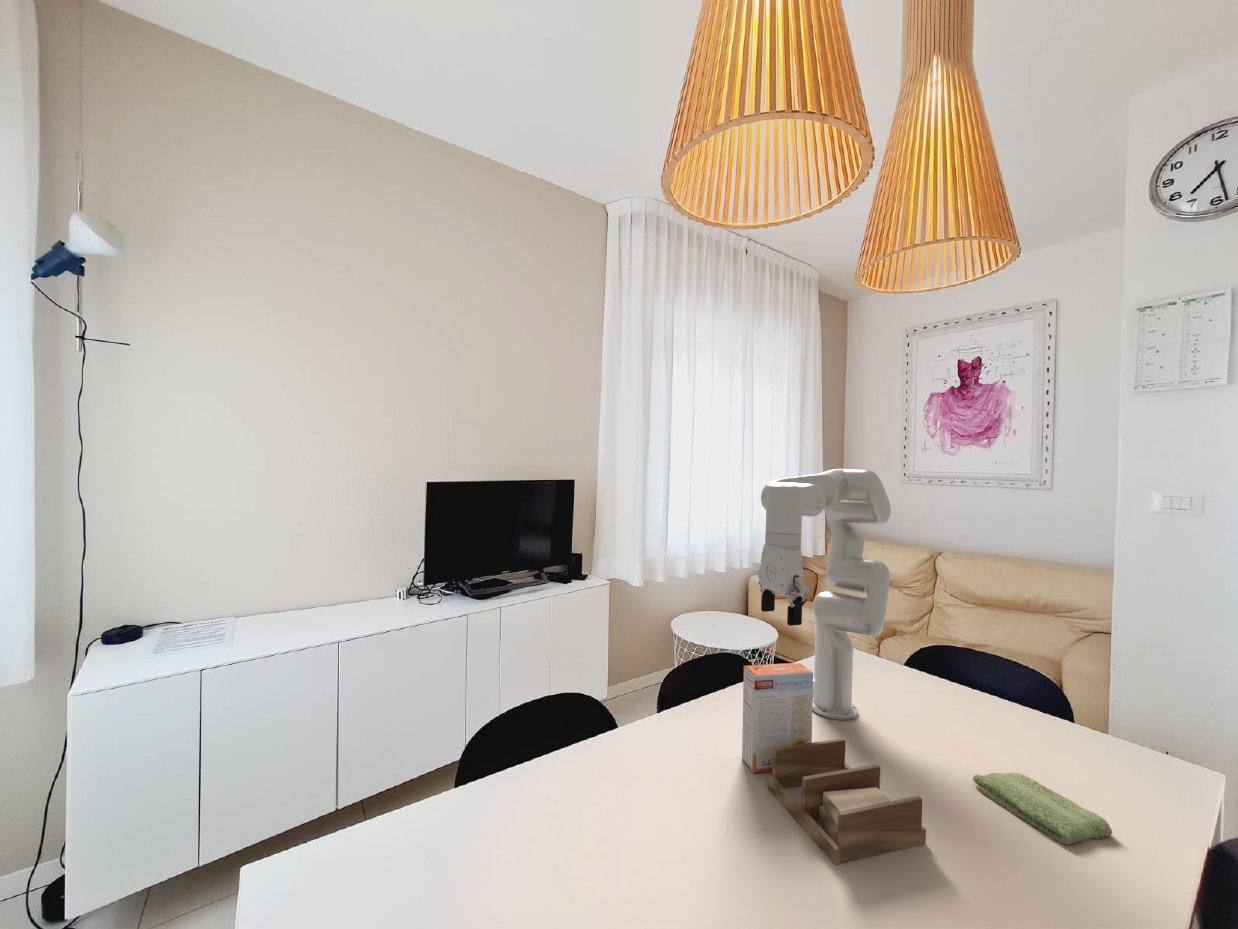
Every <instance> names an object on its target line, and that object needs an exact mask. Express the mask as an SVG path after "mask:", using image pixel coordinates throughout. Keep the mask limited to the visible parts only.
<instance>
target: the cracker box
mask: <svg viewBox="0 0 1238 929" xmlns="http://www.w3.org/2000/svg"><path fill="white" fill-rule="evenodd" d="M813 680H814V671H812V670H811V669H809V668H808V667H806V666H805V665H803V664H802V663H800V662H790V663H772V664H771V663H770V664H754V665H743V683H742V684H743V686H742V689H743V691H742V692H743V693H742V695H743V696H742V735H741V736H742V741H741V745H742V746H741V758H742V760H743V761H744V763H745V764H746V765H747V767H748V768H749V769H750V771H751V772H752V773H753V774H758V773H767V772H768V773H769V772H773V748H779V747H786V746H793V745H800V744H806V743H813V741H812V739H813V710H812V706H813Z"/></svg>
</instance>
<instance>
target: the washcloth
mask: <svg viewBox="0 0 1238 929" xmlns="http://www.w3.org/2000/svg"><path fill="white" fill-rule="evenodd" d="M972 779H973V782H974V783H975V784H976V785H977V786H976V790H977V791H978V792H979V793H981V794H983V795H984V796H985V797H987V798H989V799H990V800H992V801H994V802H995V803H997V804H998V805H999V806H1001V807H1003V808H1005V810H1008V811H1009V812H1011V813H1012V814H1014V815H1015V816H1017V817H1018V818H1020V819H1022V820H1023V821H1024V822H1026V823H1028V824H1029V825H1030V826H1033V827H1034V828H1036V829H1038V830H1040V832H1042V833H1044V834H1045V835H1046V836H1047V837H1050V838H1052V839H1054V841H1056V842H1057V843H1060V844H1063V845H1067V846H1069V845H1074V844H1077V843H1080V842H1082V843H1083V842H1085V840H1087V839H1088V840H1089V839H1101V838H1102V839H1103V838H1104V837H1105V838H1108V837H1110V836H1111V835H1113V831H1112V828H1111V826H1110V824H1109V823H1108V821H1107V820H1106V819H1104V818H1103V817H1102V816H1100V815H1099V814H1098V813H1095V812H1094V811H1091V810H1090V809H1089V810H1088V809H1086V808H1084V807H1083V806H1080V805H1079V804H1077V803H1075V802H1074V801H1072V800H1071V799H1069V798H1068V797H1066V796H1063V795H1062V794H1059V793H1057V792H1055V791H1053V790H1051V789H1050V788H1048V787H1046V786H1045V785H1043V784H1041V783H1040V782H1038V781H1037V780H1035V779H1033V778H1031V777H1030V776H1028V775H1025V774H1023V773H1018V772H1014V771H1013V772H1005V773H1003V772H990V773H989V774H985V775H982V774H973V775H972Z"/></svg>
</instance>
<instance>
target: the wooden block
mask: <svg viewBox="0 0 1238 929" xmlns="http://www.w3.org/2000/svg"><path fill="white" fill-rule="evenodd" d="M889 801H892V800H891V799H890V798H889V797H888V796H887V795H886V794H884V792H882V791H881V790H879V789H878V788H877V787H875V788H864V789H852V790H841V791H830V792H823V806H819V820H818V822H819V823H820V825H821V826H822V829H823V830H824V831H825V832H826V833H827V835H828V836H829V837H830V838H831V839H832V840H833V841H834V842H835V843H836V844H837V830H838V812H839V811H844V810H849V809H854V808H859V807H864V806H869V805H874V804H879V803H884V802H889Z"/></svg>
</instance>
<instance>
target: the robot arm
mask: <svg viewBox="0 0 1238 929" xmlns="http://www.w3.org/2000/svg"><path fill="white" fill-rule="evenodd" d="M760 494H761V495H760V501H761V502H760V503H761V505H762V507H763V508H764V510H765V533H764V534H765V535H764V536H765V537H764V538H765V540H764V544H763V547H762V552H761V557H760V565H759V570H758V571H757V577H758V580H759V581H758V584H759V586H760V589H759V590H760V593H761V600H760V601H761V602H760V604H761V605H760V610H761V612H764V613H765V612H774V611H775V610H776V609H775V608H776V607H775V606H776V595H780V596H782V597H783V596H784V597H785V596H786V599H787V601H788V604H789V605H787V612H786V614H787V615H786V616H787V619H786V622H787V623H786V624H787V626H790V627H791V626H792V627H793V626H794V627H795V626H801V625H802V624H803V623H802V622H803V608H804V607H805V604H806V603H807V601H808V597H809V595H810V592H811V591H810V589H809V587H808V586H807V585H806V584H805V583H804V566H803V564H804V563H803V554H802V524H803V523H802V520H803V517H815V516H816V517H817V516H818V515H820V514H821V513H823V511H824V514H825V517H826V518H825V519H826V521H827V523H828V526H829V527H828V528H829V529H830V534H831V541H830V546H829V553H828V557H827V561H826V562H827V563H826V567H825V580H826V583H827V584H828V585H829V586H830V587H832V588H835V589H839V590H844V591H848V592H854V593H859V594H863V595H865V596H866V598H865V597H861V596H855V595H851V594H845V593H842V592H837V591H836V592H835V591H828V590H827V591H822V592H821V591H820V592H819V593H818V594H816V595H815V597H814V598H813V600H812V601H813V602H812V614H813V621H814V630H815V633H814V634H815V635H814V636H815V639H814V640H815V643H814V644H815V647H814V671H813V706H812V712H815V713H816V714H818V715H820V716H823V717H826V718H829V719H833V720H841V721H848V720H852V719H855V718H856V717H858V713H859V712H858V711H859V710H858V707H857V706H856V705H855V704H854V703H853V702H852V698H853V671H854V670H853V669H854V668H853V667H854V666H853V665H854V647H853V646H854V645H853V642H852V640H851V638H850V636H849V634H848V633H852V634H856V635H860V636H864V637H870V638H876V637H878V636H880V635H881V633H882V632H883V629H884V625H885V619H886V611H887V606H888V599H889V591H890V584H891V583H890V582H891V575H890V570H889V568H888V566H887V565H886V563H884V562H883V561H882V560H881V561H880V560H877V559H873V558H865V557H863V554H864V548H865V540H864V538H863V536H862V534H861V533H860V532H859V530H858V529H857V528H856V527H855V525H854V524H855V523H856V524H864V525H872V526H880V525H884V524H886V523H887V522H888V521H889V520H890V517H891V512H892V511H891V510H892V509H891V504H890V503H891V502H890V500H889V496H888V494H887V492H886V489H885V487H884V483H883V482H882V480H881V478H880V477H879V476H878V474H876V473H875V472H874V471H872V470H870V469H860V468H859V469H858V468H857V469H856V468H852V469H850V468H835V469H830V470H826V471H823V472H820V473H816V474H815V473H814V474H807V475H799V476H793V477H792V476H791V477H784V478H778V479H775V480H772V481H769V482H768V483H766V484H765V486H764V487H763V489H762V491H761V493H760ZM853 523H854V524H853ZM794 597H795V598H794ZM847 632H848V633H847Z"/></svg>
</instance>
